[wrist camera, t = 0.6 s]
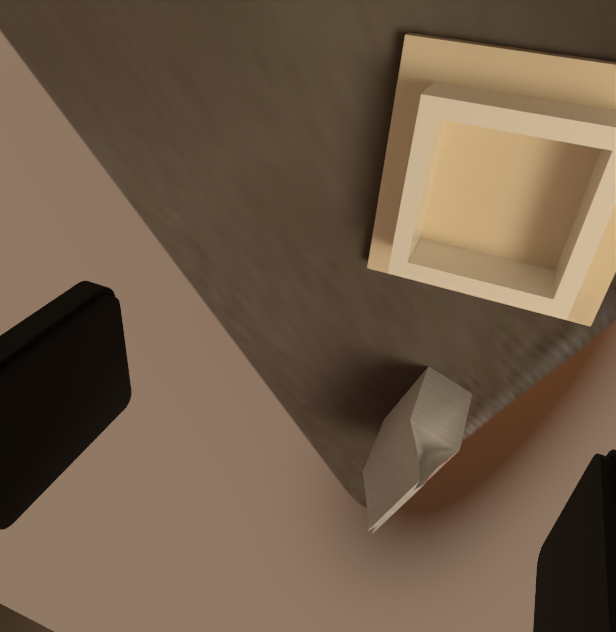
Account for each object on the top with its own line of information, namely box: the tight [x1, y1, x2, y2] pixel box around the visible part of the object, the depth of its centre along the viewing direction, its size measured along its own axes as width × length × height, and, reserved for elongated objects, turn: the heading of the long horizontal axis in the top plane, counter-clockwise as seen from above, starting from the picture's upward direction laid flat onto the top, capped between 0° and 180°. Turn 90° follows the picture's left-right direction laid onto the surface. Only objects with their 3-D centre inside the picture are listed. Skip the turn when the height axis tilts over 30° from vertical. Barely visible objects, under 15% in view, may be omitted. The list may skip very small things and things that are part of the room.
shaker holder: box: [367, 32, 616, 326], centre depth 30 cm, size 14×14×4 cm
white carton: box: [363, 366, 472, 533], centre depth 39 cm, size 4×7×10 cm, turn 155°
